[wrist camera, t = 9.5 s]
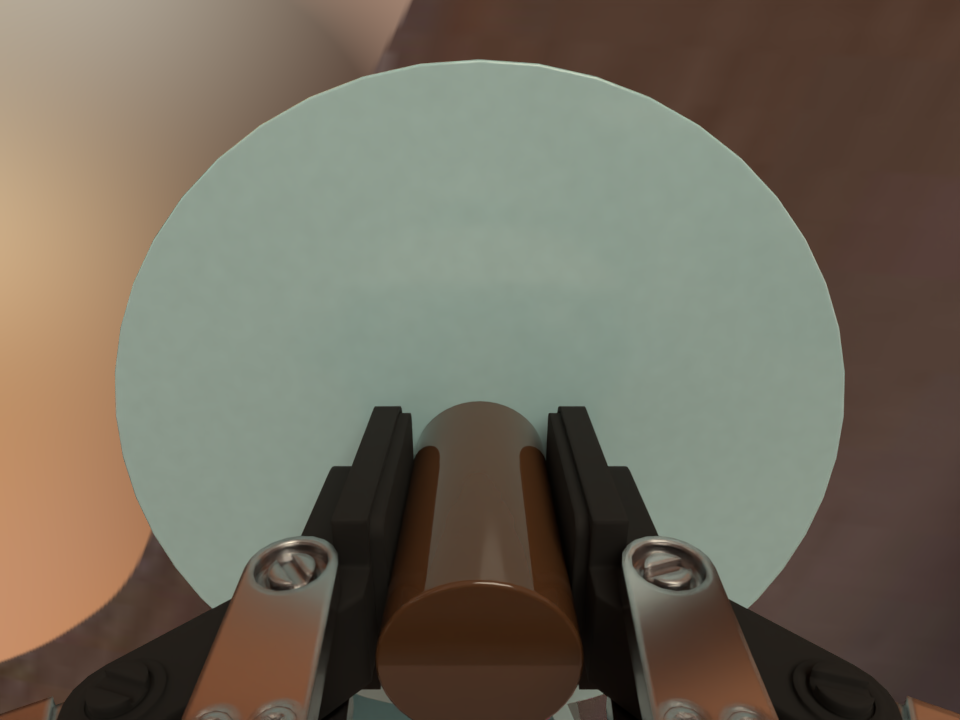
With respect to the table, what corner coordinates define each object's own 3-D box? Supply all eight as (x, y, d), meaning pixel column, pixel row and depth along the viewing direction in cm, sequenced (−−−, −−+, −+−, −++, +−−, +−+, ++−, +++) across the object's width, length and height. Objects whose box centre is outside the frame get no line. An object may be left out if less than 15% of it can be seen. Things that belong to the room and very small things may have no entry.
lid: (891, 66, 11) (1390, -15, 5) (754, 676, 17) (911, 989, 11) (68, 66, 11) (-434, -15, 5) (205, 676, 17) (46, 989, 11)
